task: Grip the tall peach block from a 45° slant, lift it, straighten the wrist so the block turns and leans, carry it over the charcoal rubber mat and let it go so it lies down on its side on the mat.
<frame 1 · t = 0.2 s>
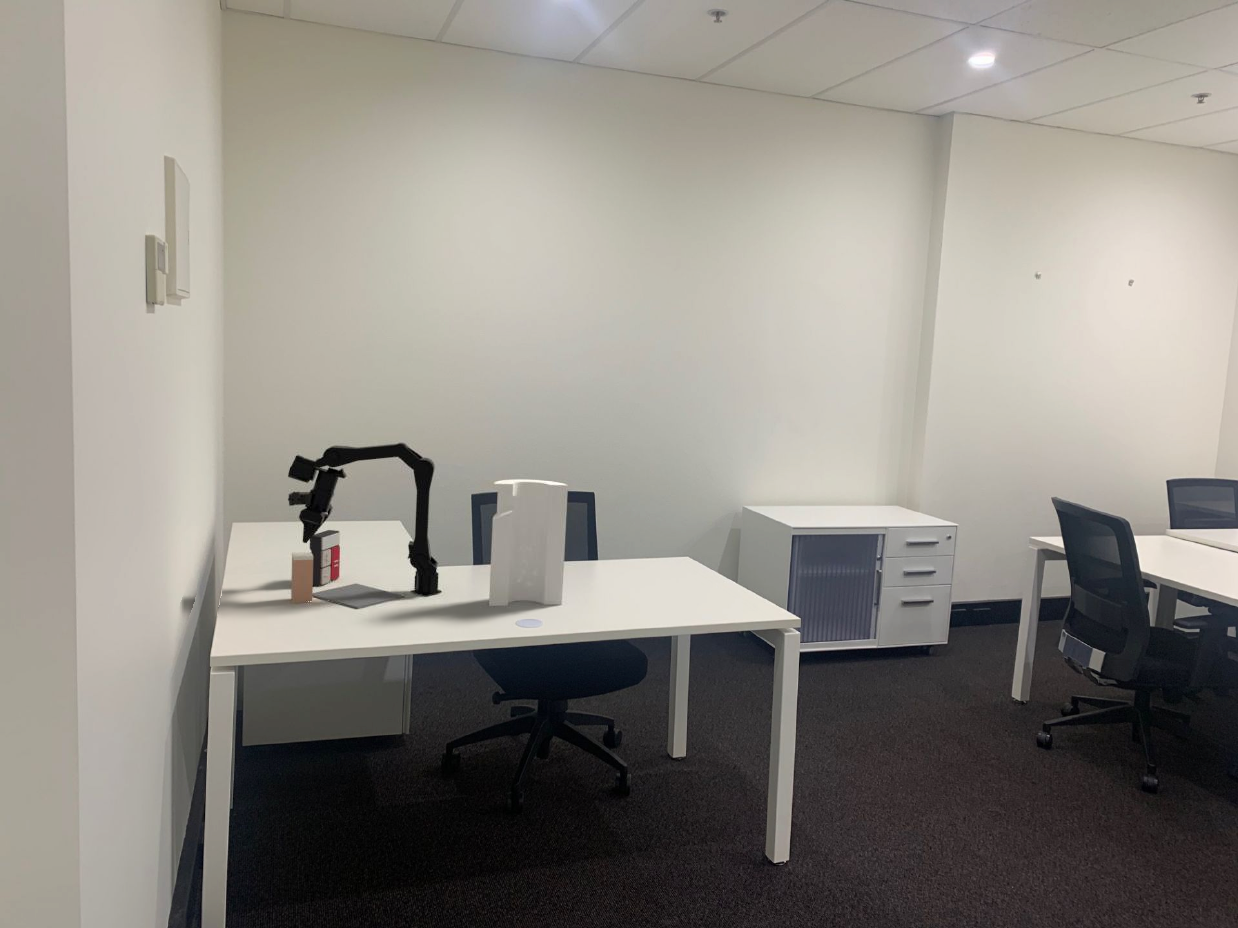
hand: (307, 539, 253), 15 cm above the table, tool tilted 15°, fingers open, 9 cm apart
peach block: (301, 600, 245), on the table
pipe: (523, 601, 257), on the table
grey mat: (356, 596, 252), on the table
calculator: (324, 582, 266), on the table
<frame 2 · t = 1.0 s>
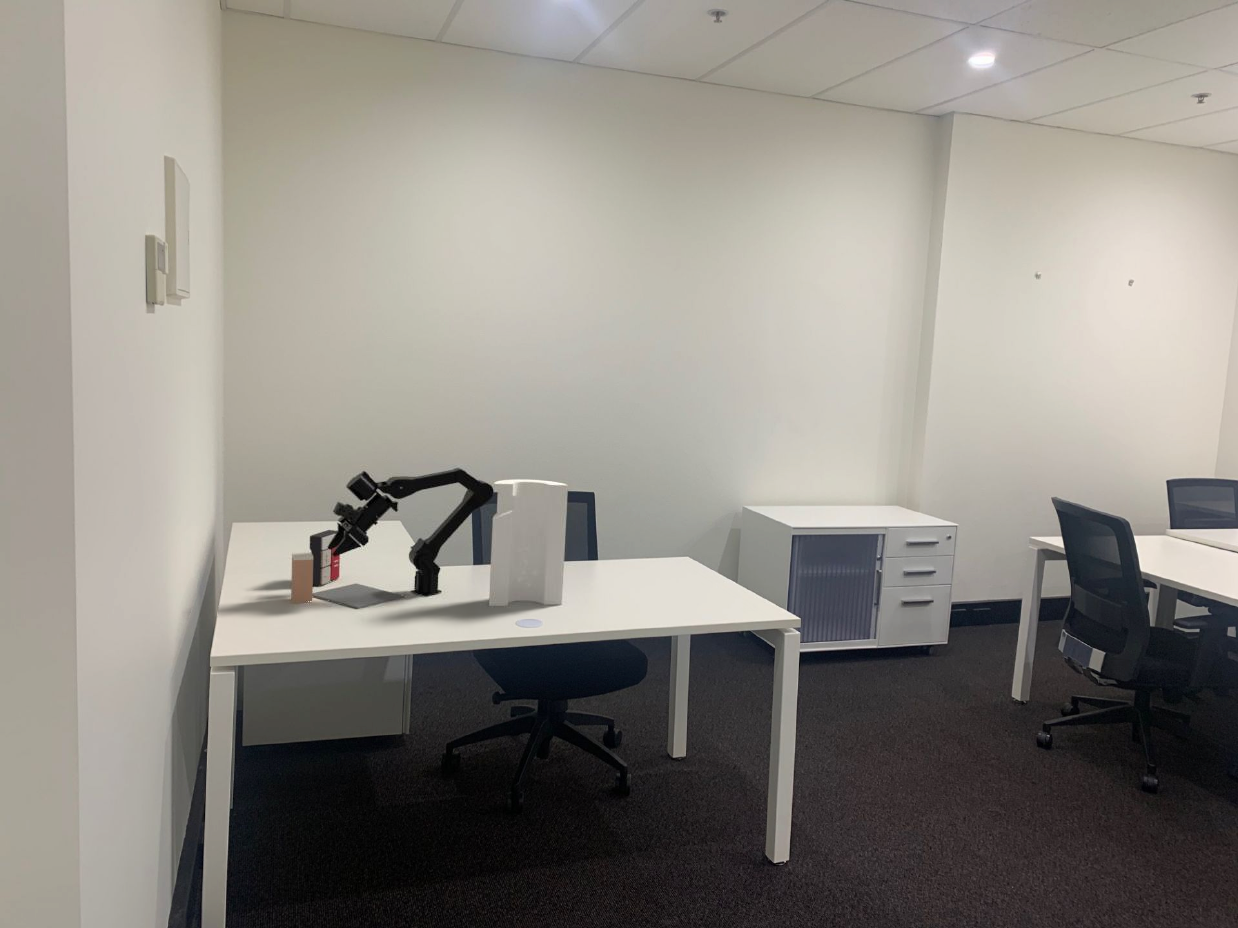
hand: (330, 551, 247), 13 cm above the table, tool tilted 45°, fingers open, 9 cm apart
nothing on the table moved.
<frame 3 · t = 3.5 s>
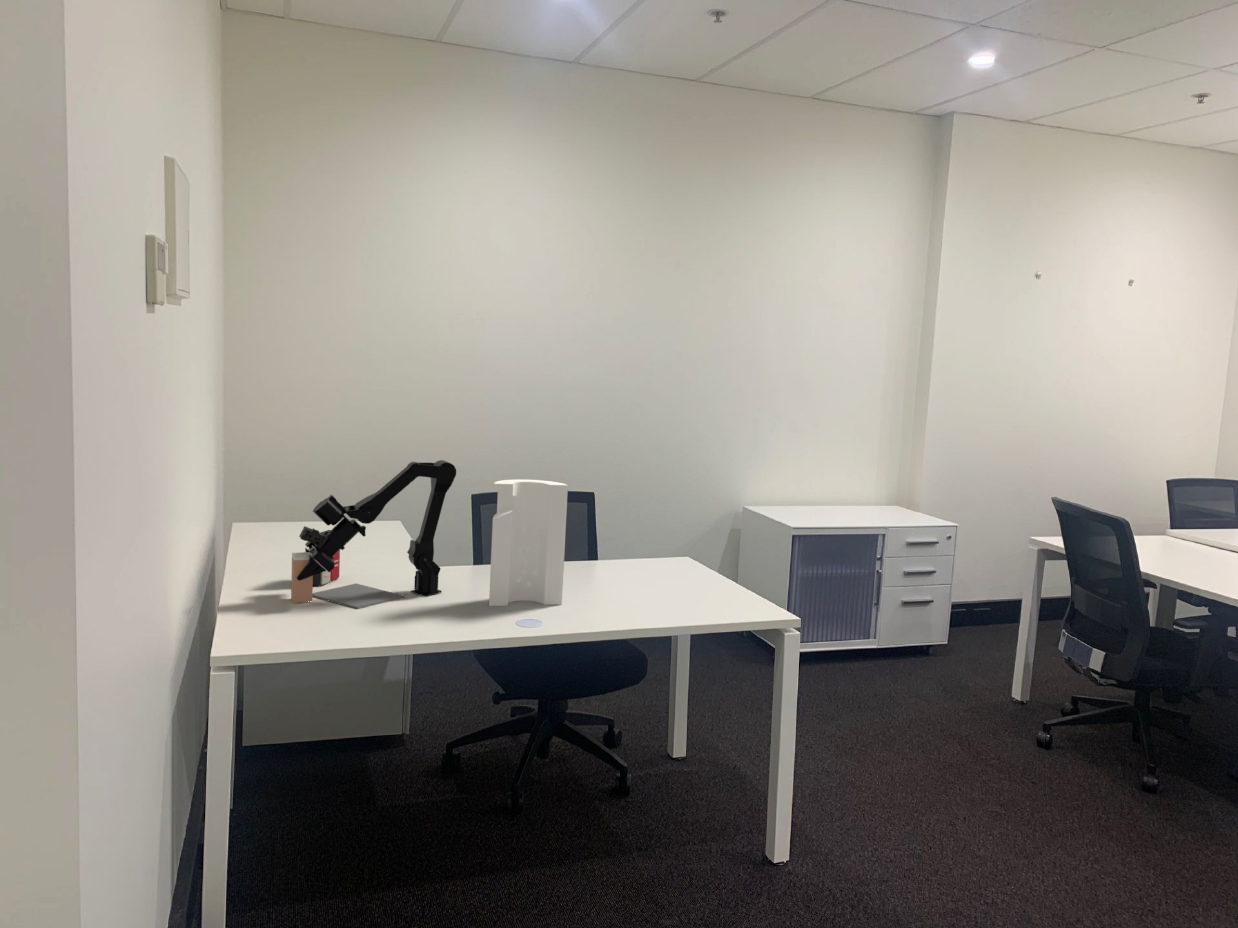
hand: (296, 577, 243), 7 cm above the table, tool tilted 45°, fingers closed on peach block, 5 cm apart
peach block: (301, 600, 245), on the table, touching gripper
everything else where it was.
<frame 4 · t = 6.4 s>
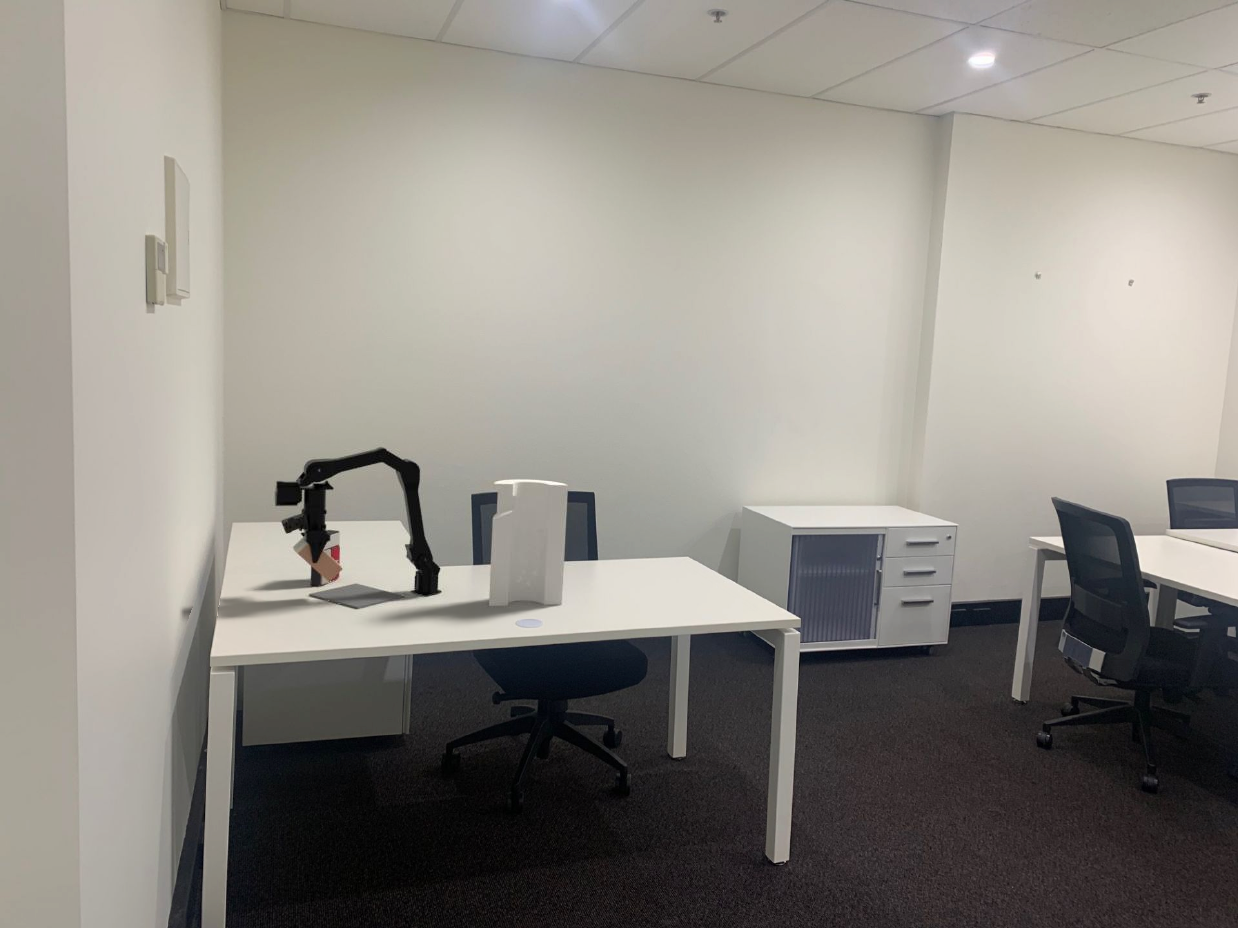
hand: (313, 560, 245), 11 cm above the table, tool pointing down, fingers closed on peach block, 5 cm apart
peach block: (334, 573, 248), point 7 cm above the table, tilted 45°, touching gripper
everything else where it was.
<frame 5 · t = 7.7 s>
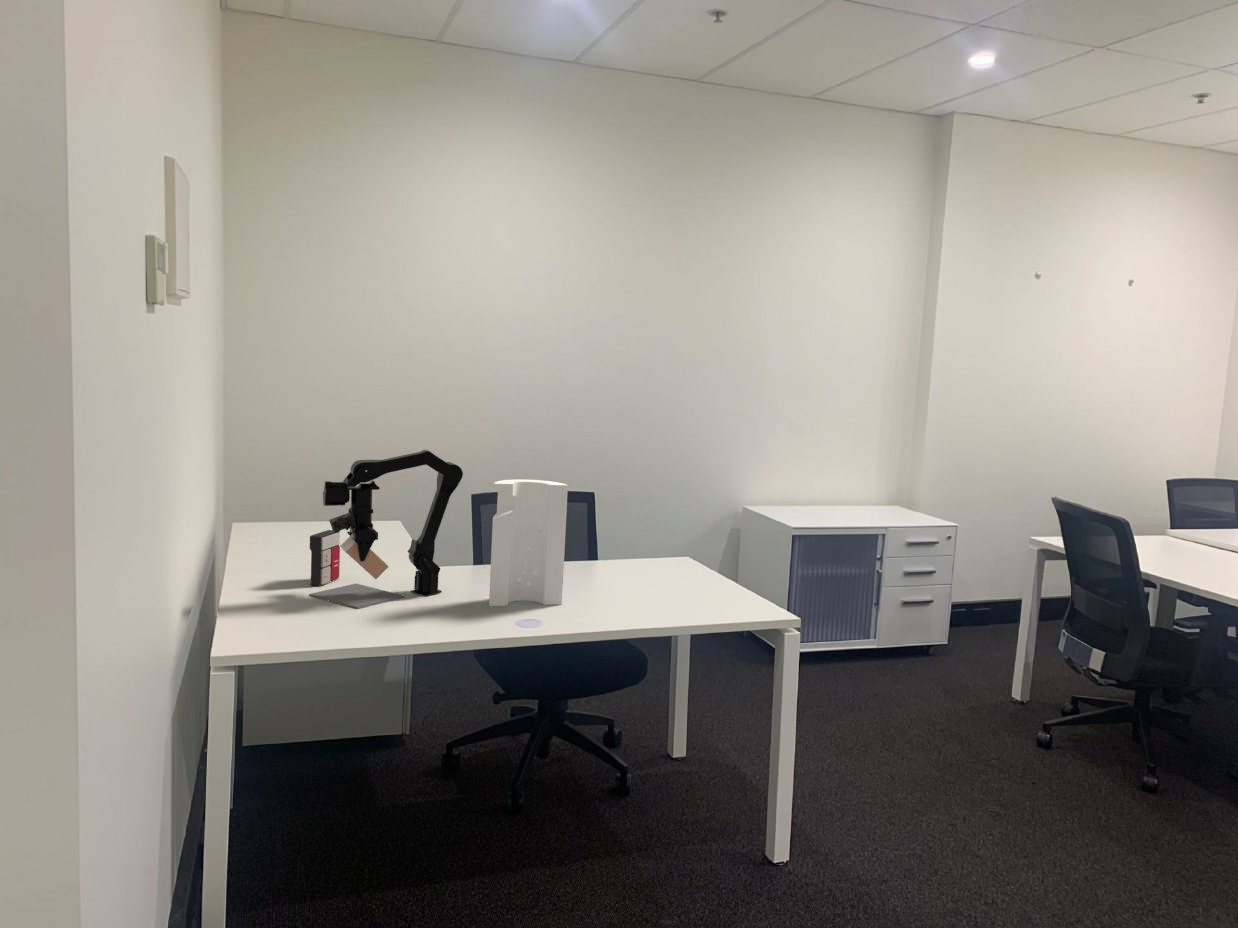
hand: (360, 559, 251), 11 cm above the table, tool pointing down, fingers closed on peach block, 5 cm apart
peach block: (380, 570, 254), point 7 cm above the table, tilted 46°, touching gripper
everything else where it was.
when the fingers open (7 cm above the table, at t = 8.8 s): peach block moves 2 cm and tips over, resting on grey mat.
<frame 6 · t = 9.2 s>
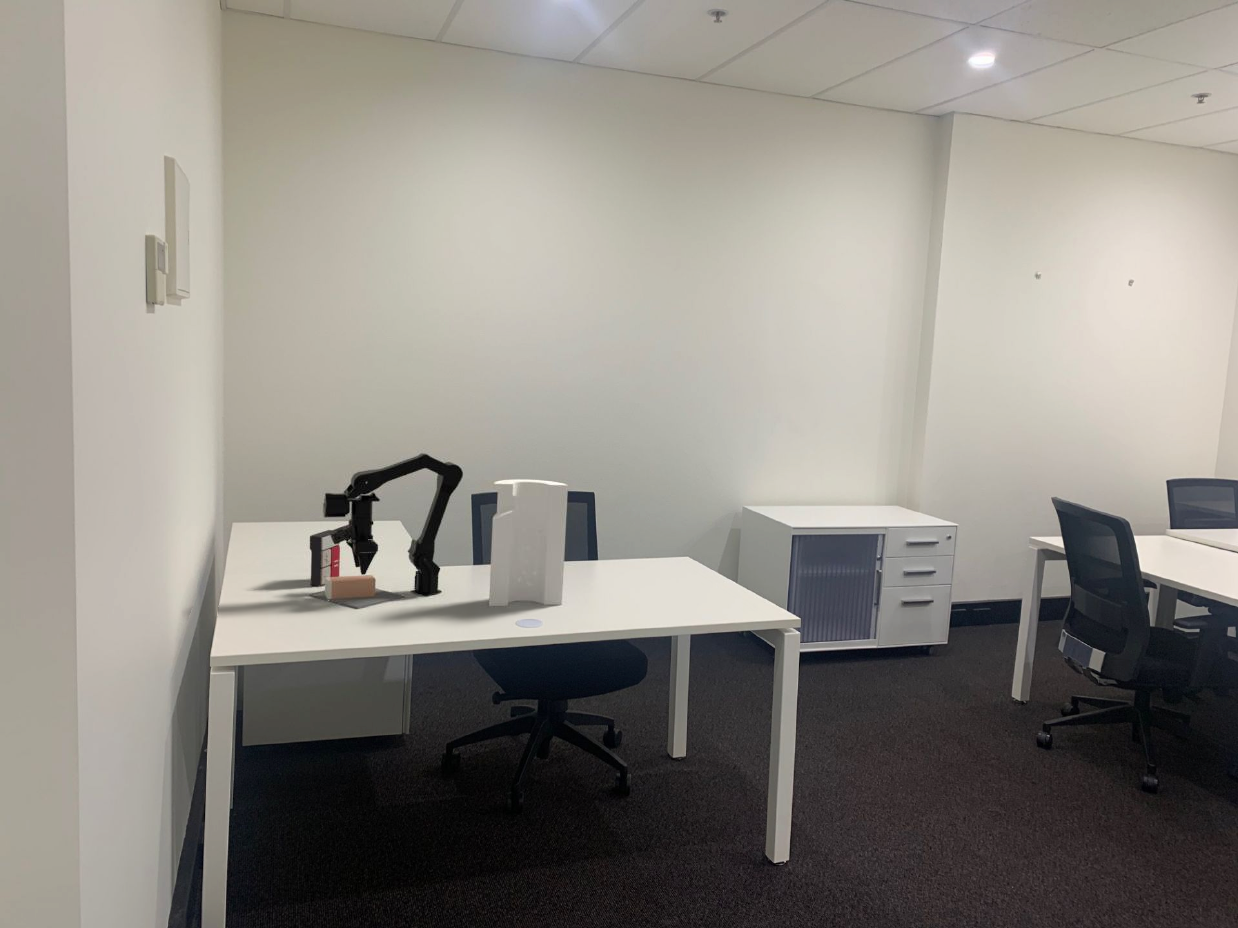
hand: (360, 570, 251), 7 cm above the table, tool pointing down, fingers open, 9 cm apart
peach block: (373, 585, 253), point 3 cm above the table, tilted 90°, touching grey mat
everything else where it was.
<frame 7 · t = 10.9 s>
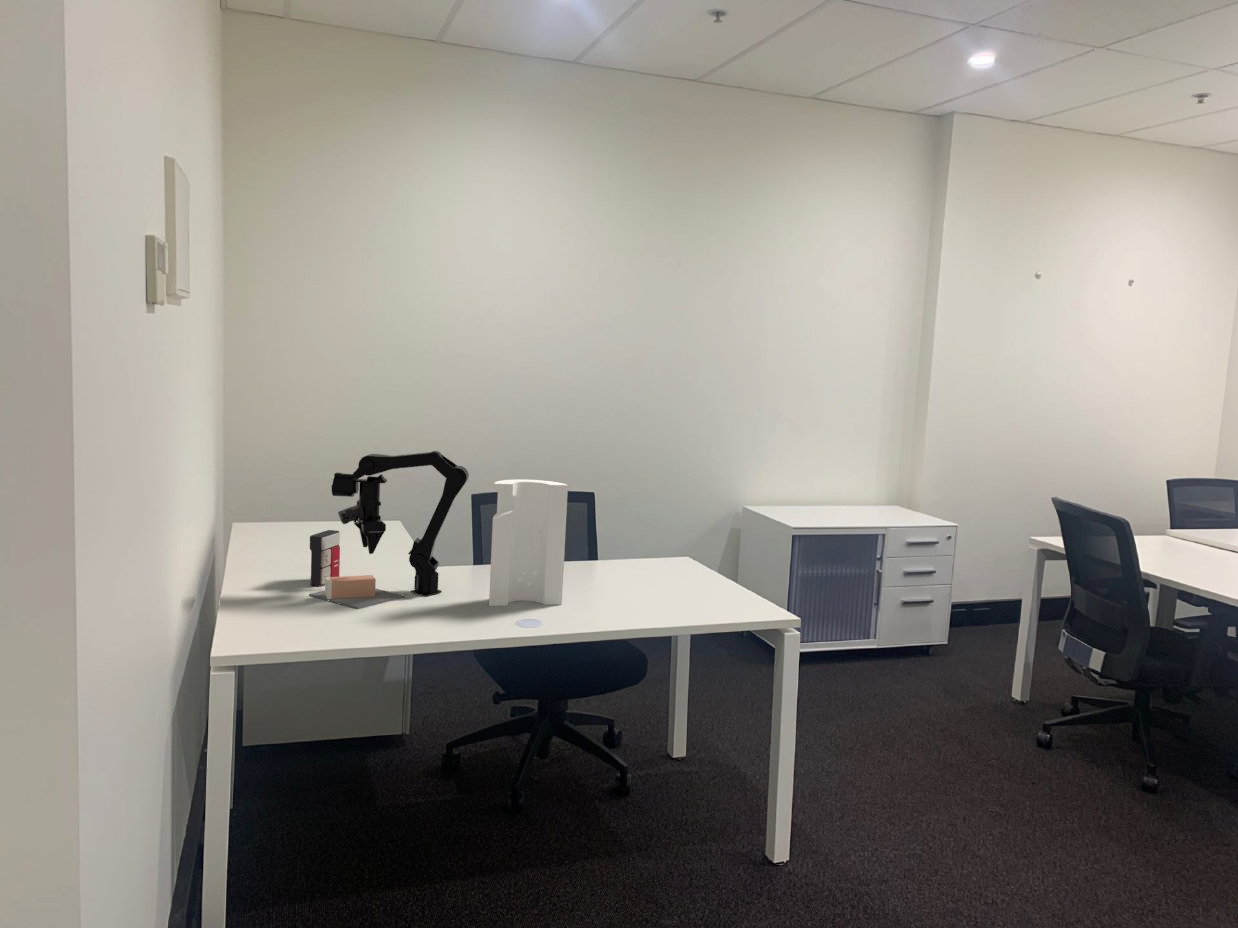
hand: (368, 550, 257), 12 cm above the table, tool pointing down, fingers open, 9 cm apart
nothing on the table moved.
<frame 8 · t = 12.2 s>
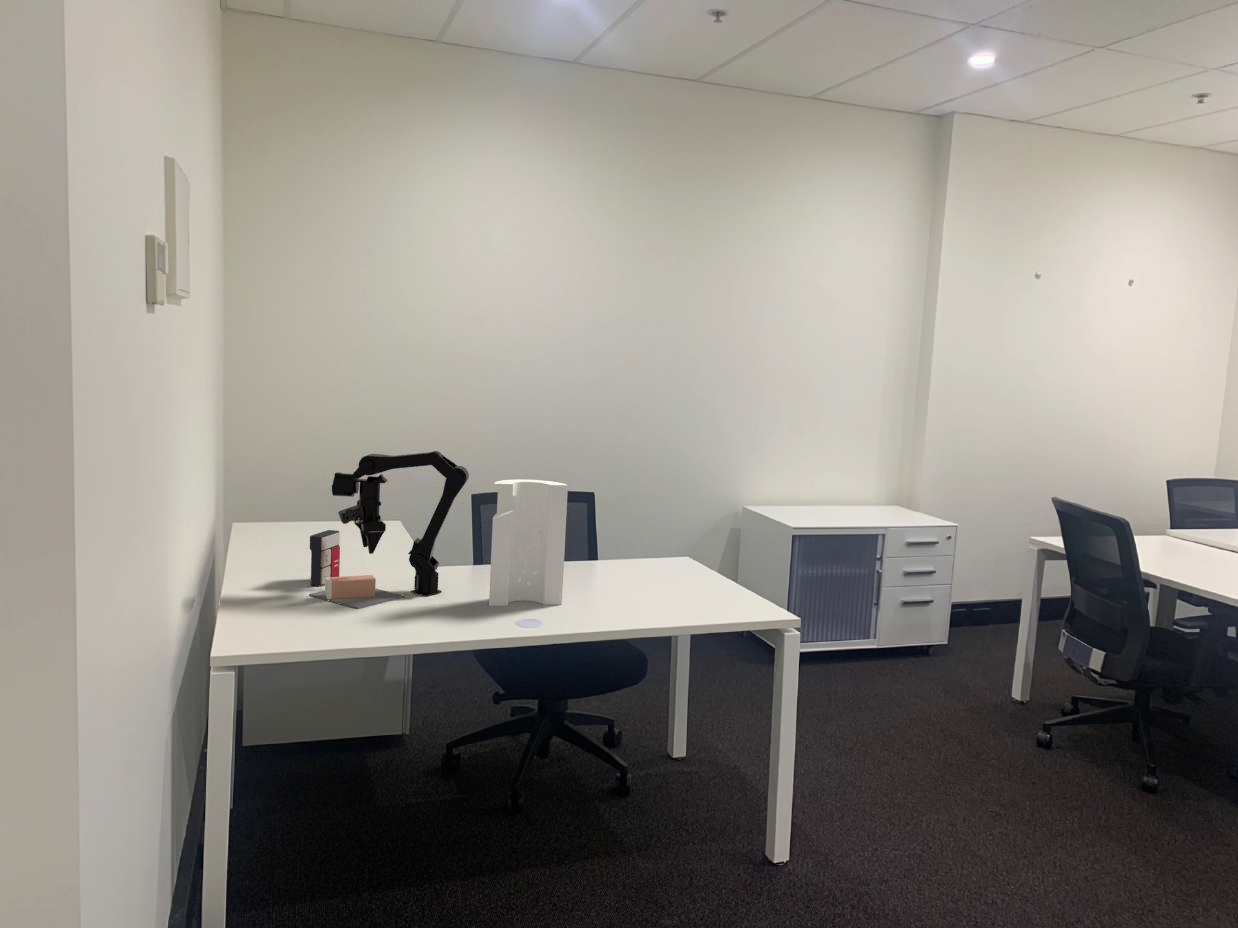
hand: (368, 550, 258), 12 cm above the table, tool pointing down, fingers open, 9 cm apart
nothing on the table moved.
at the end: peach block tilted 90°; peach block inside the target area (5.2 cm from its centre), point 3.0 cm above the table; peach block touching grey mat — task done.
